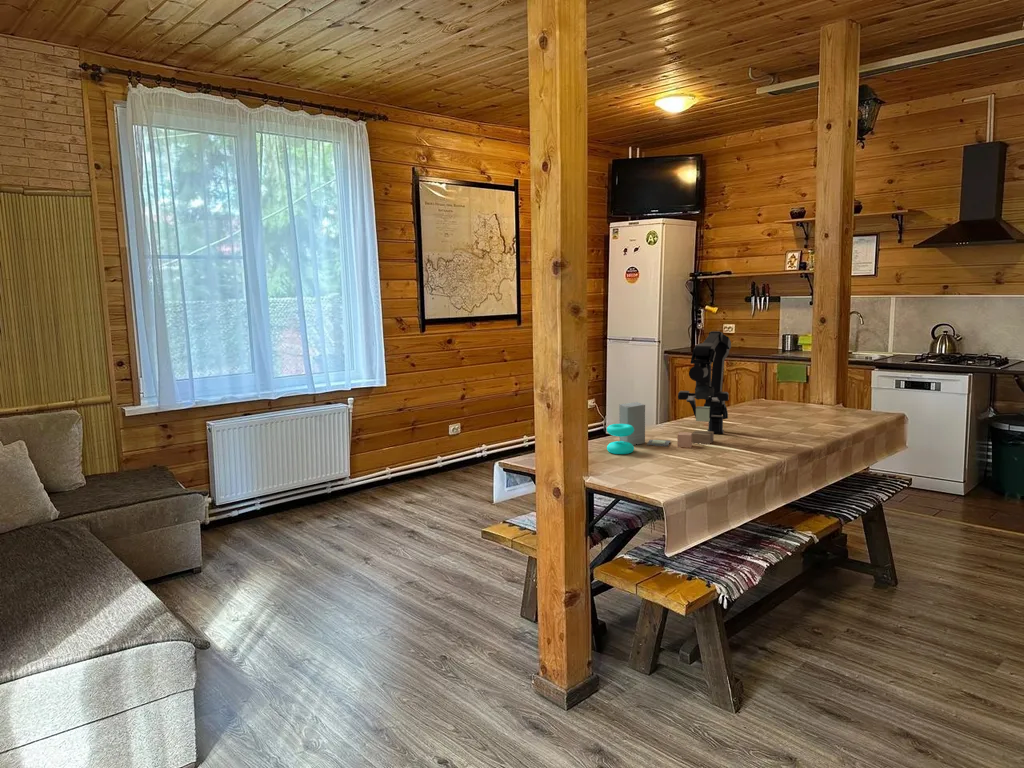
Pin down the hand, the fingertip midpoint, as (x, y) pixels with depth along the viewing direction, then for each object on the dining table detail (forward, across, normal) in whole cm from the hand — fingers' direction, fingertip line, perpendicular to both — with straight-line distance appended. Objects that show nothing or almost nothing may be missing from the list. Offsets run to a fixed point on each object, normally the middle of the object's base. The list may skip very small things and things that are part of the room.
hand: (702, 417), depth 275 cm
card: (+10, -16, -7) cm, 20 cm away
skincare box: (+10, -26, -9) cm, 29 cm away
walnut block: (+10, 0, 0) cm, 10 cm away
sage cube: (+1, 0, 0) cm, 1 cm away
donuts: (+10, -28, -24) cm, 38 cm away
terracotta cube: (+10, -6, -9) cm, 15 cm away
